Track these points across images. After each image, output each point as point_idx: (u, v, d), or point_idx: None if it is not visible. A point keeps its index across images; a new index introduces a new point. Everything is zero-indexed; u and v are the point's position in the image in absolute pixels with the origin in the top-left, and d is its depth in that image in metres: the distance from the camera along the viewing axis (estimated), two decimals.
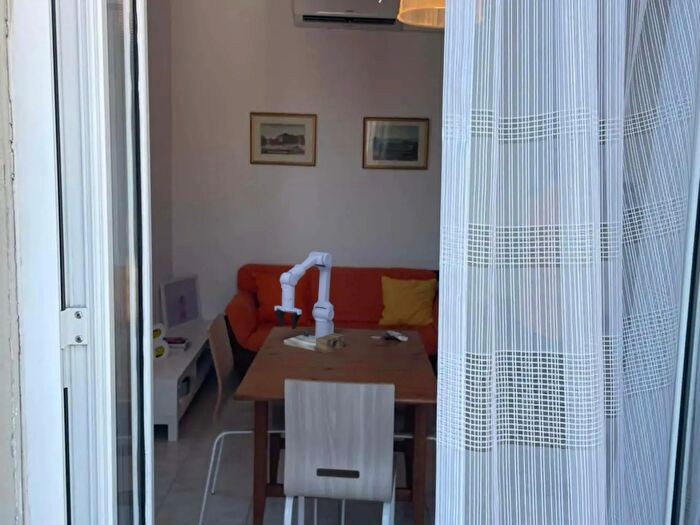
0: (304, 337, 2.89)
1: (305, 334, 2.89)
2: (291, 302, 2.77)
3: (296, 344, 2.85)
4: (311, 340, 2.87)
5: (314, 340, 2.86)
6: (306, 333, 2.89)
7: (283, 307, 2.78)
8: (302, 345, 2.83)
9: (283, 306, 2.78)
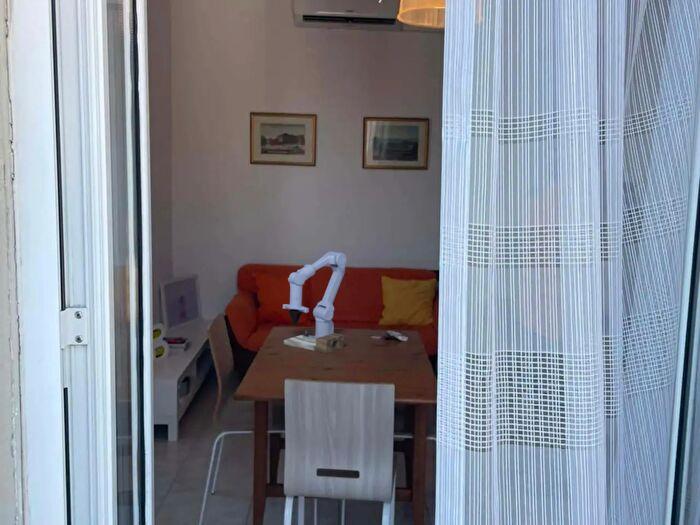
0: (304, 337, 2.89)
1: (305, 334, 2.89)
2: (299, 301, 2.90)
3: (296, 344, 2.85)
4: (311, 340, 2.87)
5: (314, 340, 2.86)
6: (306, 333, 2.89)
7: (291, 305, 2.90)
8: (302, 345, 2.83)
9: (291, 304, 2.90)
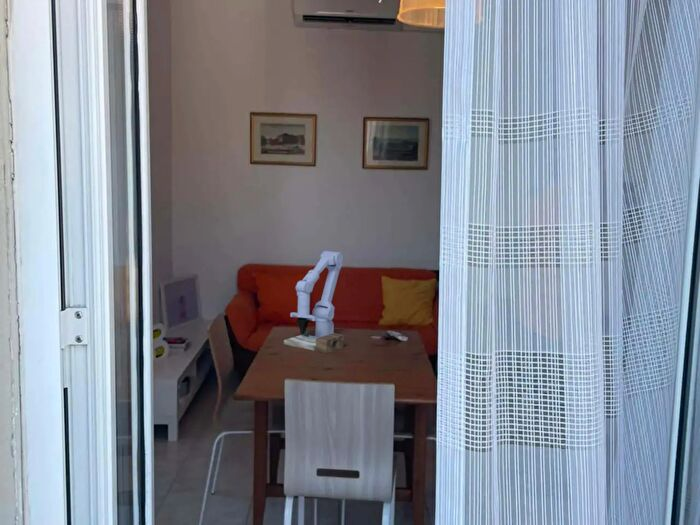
0: (304, 337, 2.89)
1: (305, 334, 2.89)
2: (306, 309, 2.88)
3: (296, 344, 2.85)
4: (311, 340, 2.87)
5: (314, 340, 2.86)
6: (306, 333, 2.89)
7: (299, 314, 2.88)
8: (302, 345, 2.83)
9: (299, 313, 2.88)
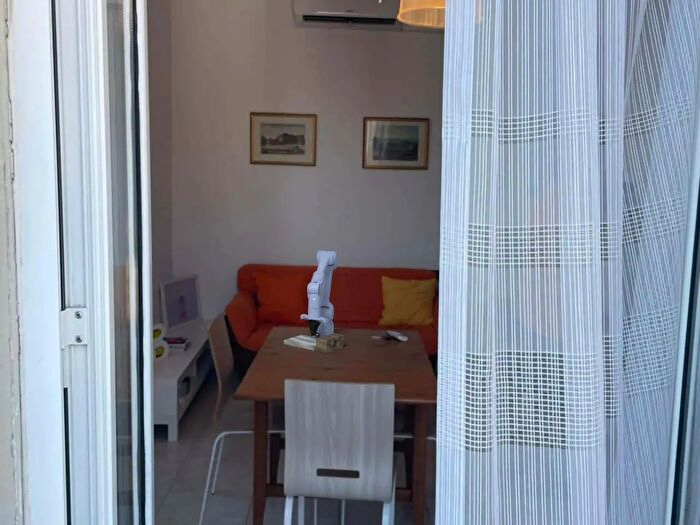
0: (315, 339, 2.86)
1: (316, 336, 2.86)
2: (317, 311, 2.84)
3: (296, 344, 2.85)
4: None
5: None
6: (317, 335, 2.86)
7: (309, 316, 2.85)
8: (302, 345, 2.83)
9: (309, 315, 2.85)
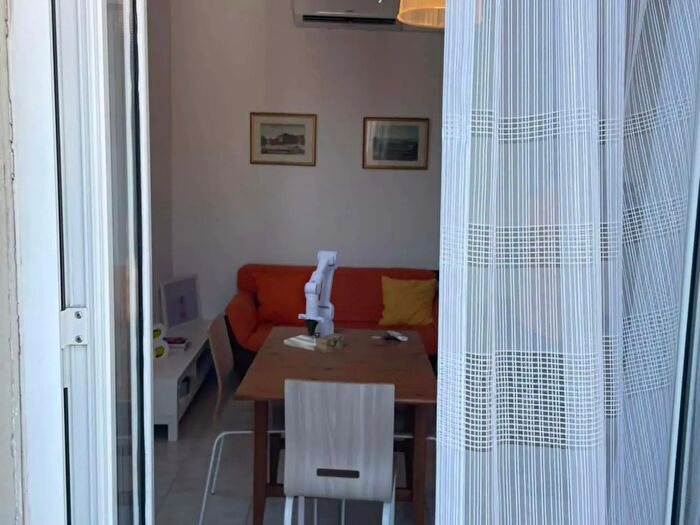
0: (315, 339, 2.86)
1: (316, 336, 2.86)
2: (315, 311, 2.85)
3: (296, 344, 2.85)
4: None
5: None
6: (317, 335, 2.86)
7: (307, 315, 2.85)
8: (302, 345, 2.83)
9: (307, 314, 2.85)
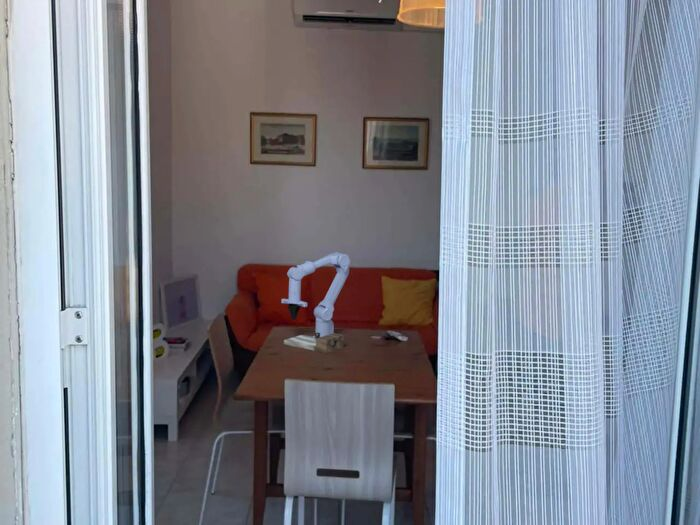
0: (315, 339, 2.86)
1: (316, 336, 2.86)
2: (297, 295, 2.93)
3: (296, 344, 2.85)
4: None
5: None
6: (317, 335, 2.86)
7: (290, 300, 2.93)
8: (302, 345, 2.83)
9: (290, 299, 2.93)
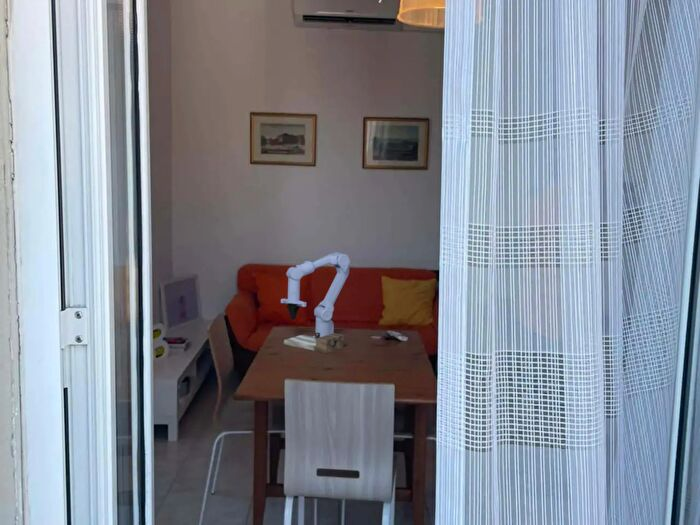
0: (315, 339, 2.86)
1: (316, 336, 2.86)
2: (296, 295, 2.93)
3: (296, 344, 2.85)
4: None
5: None
6: (317, 335, 2.86)
7: (289, 300, 2.94)
8: (302, 345, 2.83)
9: (289, 299, 2.94)
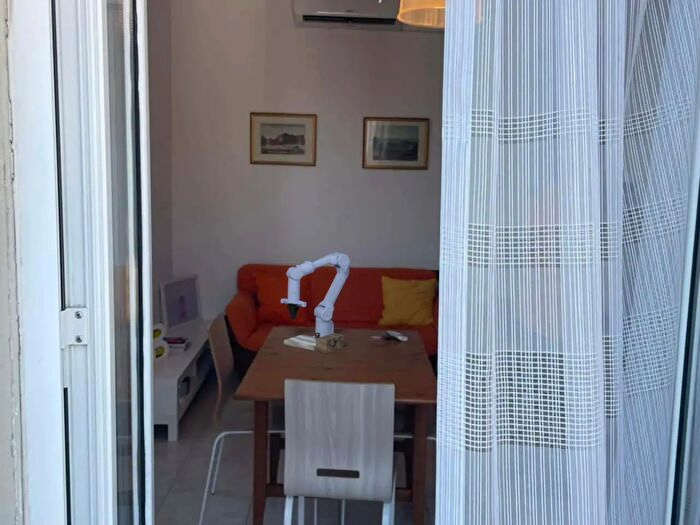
0: (315, 339, 2.86)
1: (316, 336, 2.86)
2: (296, 295, 2.93)
3: (296, 344, 2.85)
4: None
5: None
6: (317, 335, 2.86)
7: (289, 300, 2.94)
8: (302, 345, 2.83)
9: (289, 299, 2.94)
